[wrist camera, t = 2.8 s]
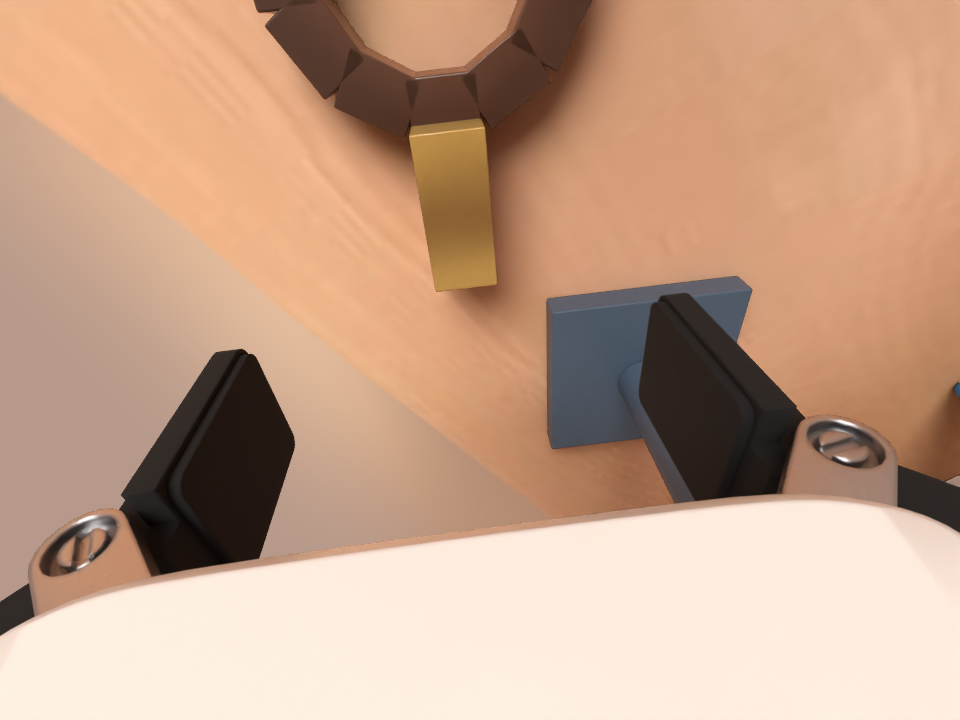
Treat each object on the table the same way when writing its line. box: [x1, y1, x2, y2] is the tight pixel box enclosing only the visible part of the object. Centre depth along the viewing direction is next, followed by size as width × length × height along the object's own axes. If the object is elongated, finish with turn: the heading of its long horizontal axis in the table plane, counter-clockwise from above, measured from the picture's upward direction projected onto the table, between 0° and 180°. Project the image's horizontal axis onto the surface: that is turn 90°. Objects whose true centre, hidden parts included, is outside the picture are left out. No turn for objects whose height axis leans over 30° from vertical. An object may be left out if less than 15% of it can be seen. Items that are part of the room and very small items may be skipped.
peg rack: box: [547, 276, 752, 504], centre depth 22 cm, size 10×10×12 cm
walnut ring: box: [254, 0, 592, 292], centre depth 16 cm, size 16×11×4 cm, turn 5°
